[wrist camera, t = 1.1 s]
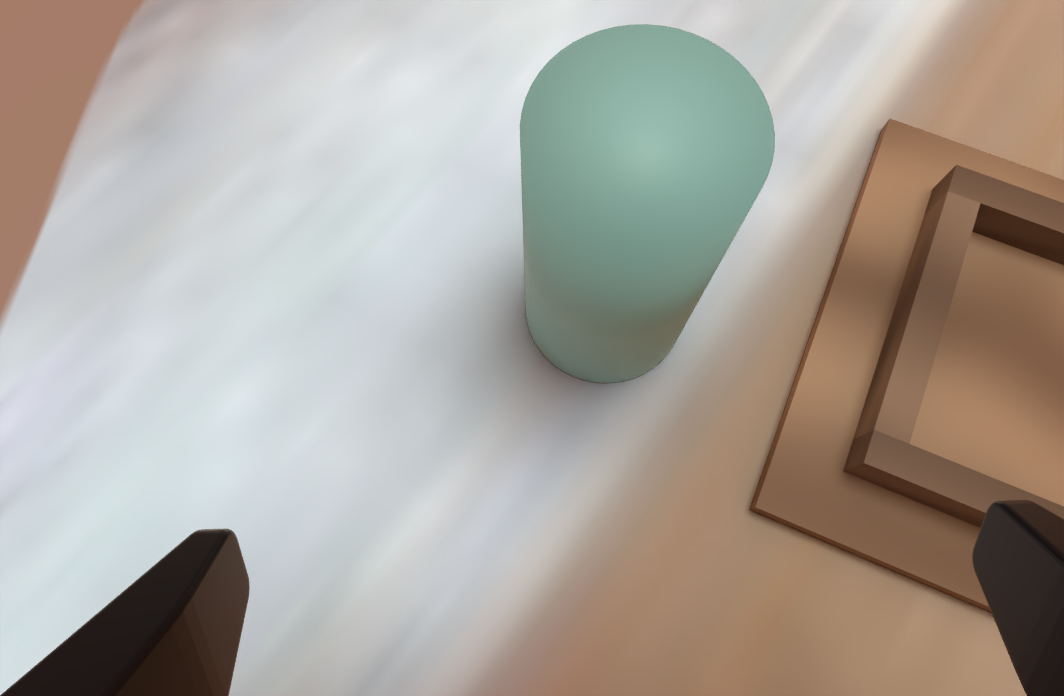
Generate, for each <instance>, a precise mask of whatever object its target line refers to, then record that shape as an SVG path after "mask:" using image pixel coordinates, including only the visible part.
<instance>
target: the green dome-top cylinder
mask: <svg viewBox="0 0 1064 696" xmlns="http://www.w3.org/2000/svg"><path fill="white" fill-rule="evenodd" d="M774 144H775V133H774V126H773V119H772V116H771V112H770V109H769V105H768V103H767V101H766V99H765V96H764V94H763V92H762V90H761V89H760V87H759V86H758V84H757V82H756V81H755V79H754V78H753V77H752V76H751V74H750V73H749V72H748V71H747V69H746V68H745V67H744V66H743V65H742V64H741V63H740V62H739V61H737V60H736V59H735V58H734V57H733V56H732V55H730V54H729V53H728V52H726V51H725V50H724V49H722V48H721V47H719V46H717V45H716V44H714V43H712V42H711V41H709V40H707V39H704V38H702V37H700V36H698V35H695V34H693V33H690V32H687V31H683V30H680V29H676V28H671V27H666V26H659V25H648V24H645V25H626V26H618V27H613V28H609V29H605V30H601V31H598V32H595V33H592V34H590V35H587V36H585V37H583V38H581V39H579V40H577V41H575V42H573V43H572V44H570V45H569V46H567V47H566V48H564V49H563V50H561V51H560V52H559V53H558V54H557V55H555V56H554V57H553V58H552V59H551V60H550V61H549V62H548V63H547V64H546V65H545V66H544V68H543V69H542V70H541V71H540V72H539V74H538V75H537V77H536V79H535V80H534V82H533V83H532V85H531V87H530V89H529V91H528V94H527V96H526V99H525V102H524V105H523V109H522V114H521V121H520V147H521V179H522V212H523V244H524V276H525V308H526V319H527V324H528V328H529V331H530V334H531V336H532V338H533V340H534V342H535V344H536V345H537V347H538V348H539V350H540V351H541V352H542V354H543V355H544V356H545V357H546V358H547V359H548V360H549V361H550V362H551V363H552V364H553V365H555V366H556V367H557V368H559V369H560V370H562V371H563V372H565V373H567V374H569V375H571V376H573V377H576V378H579V379H581V380H585V381H590V382H596V383H616V382H623V381H627V380H630V379H634V378H636V377H638V376H641V375H643V374H645V373H646V372H648V371H650V370H651V369H653V368H654V367H655V366H656V365H658V364H659V363H660V362H661V361H662V360H663V359H664V358H665V357H666V356H667V354H668V353H669V351H670V350H671V349H672V347H673V345H674V344H675V342H676V340H677V338H678V337H679V335H680V333H681V331H682V329H683V328H684V326H685V324H686V322H687V321H688V319H689V317H690V315H691V313H692V312H693V310H694V308H695V306H696V305H697V303H698V301H699V299H700V297H701V296H702V294H703V292H704V290H705V288H706V287H707V285H708V283H709V281H710V280H711V278H712V276H713V274H714V272H715V271H716V269H717V267H718V265H719V264H720V262H721V260H722V258H723V256H724V255H725V253H726V251H727V249H728V248H729V246H730V244H731V242H732V240H733V239H734V237H735V235H736V233H737V232H738V230H739V228H740V226H741V224H742V223H743V221H744V219H745V217H746V216H747V214H748V212H749V210H750V208H751V207H752V205H753V203H754V201H755V200H756V198H757V196H758V194H759V192H760V191H761V189H762V187H763V185H764V183H765V181H766V179H767V177H768V174H769V171H770V168H771V165H772V160H773V154H774Z"/></svg>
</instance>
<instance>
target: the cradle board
mask: <svg viewBox="0 0 1064 696" xmlns="http://www.w3.org/2000/svg"><path fill="white" fill-rule="evenodd" d="M1001 500H1029V501H1033V502H1035V503H1037V504H1039V505H1040V506H1042V507H1044V508H1046V509H1047V510H1049V511H1051V512H1053V513H1054V514H1056V515H1058V516H1060V517H1062V518H1063V519H1064V180H1062V179H1059V178H1056V177H1053V176H1050V175H1048V174H1045V173H1042V172H1039V171H1036V170H1034V169H1031V168H1028V167H1025V166H1022V165H1019V164H1017V163H1014V162H1011V161H1008V160H1005V159H1002V158H1000V157H997V156H994V155H991V154H988V153H986V152H983V151H980V150H977V149H974V148H971V147H969V146H966V145H963V144H960V143H957V142H955V141H952V140H949V139H946V138H943V137H940V136H938V135H935V134H932V133H929V132H926V131H924V130H921V129H918V128H915V127H912V126H909V125H907V124H904V123H901V122H898V121H895V120H892V119H889V120H888V122H887V123H886V124H885V126H884V127H883V128H882V131H881V134H880V136H879V139H878V142H877V145H876V148H875V151H874V154H873V157H872V159H871V162H870V165H869V168H868V171H867V174H866V177H865V180H864V182H863V185H862V188H861V191H860V194H859V197H858V200H857V203H856V205H855V208H854V211H853V214H852V217H851V220H850V223H849V226H848V229H847V231H846V234H845V237H844V240H843V243H842V246H841V249H840V252H839V254H838V257H837V260H836V263H835V266H834V269H833V272H832V275H831V277H830V280H829V283H828V286H827V289H826V292H825V295H824V298H823V300H822V303H821V306H820V309H819V312H818V315H817V318H816V321H815V323H814V326H813V329H812V332H811V335H810V338H809V341H808V344H807V346H806V349H805V352H804V355H803V358H802V361H801V364H800V367H799V369H798V372H797V375H796V378H795V381H794V384H793V387H792V390H791V392H790V395H789V398H788V401H787V404H786V407H785V410H784V413H783V415H782V418H781V421H780V424H779V427H778V430H777V433H776V436H775V438H774V441H773V444H772V447H771V450H770V453H769V456H768V459H767V461H766V464H765V467H764V470H763V473H762V476H761V479H760V482H759V484H758V487H757V490H756V493H755V496H754V499H753V502H752V505H751V507H750V510H753V511H755V512H757V513H760V514H762V515H764V516H767V517H769V518H771V519H774V520H776V521H779V522H781V523H783V524H786V525H788V526H790V527H793V528H795V529H797V530H800V531H802V532H804V533H807V534H809V535H811V536H814V537H816V538H818V539H821V540H823V541H825V542H828V543H830V544H832V545H835V546H837V547H839V548H842V549H844V550H846V551H849V552H851V553H853V554H856V555H858V556H861V557H863V558H865V559H868V560H870V561H872V562H875V563H877V564H879V565H882V566H884V567H886V568H889V569H891V570H893V571H896V572H898V573H900V574H903V575H905V576H907V577H910V578H912V579H914V580H917V581H919V582H921V583H924V584H926V585H928V586H931V587H933V588H935V589H938V590H940V591H943V592H945V593H947V594H950V595H952V596H954V597H957V598H959V599H961V600H964V601H966V602H968V603H971V604H973V605H975V606H978V607H980V608H982V609H985V610H987V611H989V612H991V610H990V608H989V605H988V603H987V600H986V598H985V595H984V593H983V591H982V588H981V586H980V583H979V581H978V578H977V576H976V574H975V571H974V567H973V561H972V554H973V548H974V545H975V542H976V540H977V537H978V534H979V531H980V528H981V526H982V523H983V520H984V517H985V514H986V512H987V509H988V507H989V506H990V505H991V504H992V503H993V502H996V501H1001Z"/></svg>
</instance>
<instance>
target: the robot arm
mask: <svg viewBox="0 0 1064 696" xmlns="http://www.w3.org/2000/svg"><path fill="white" fill-rule="evenodd" d="M972 561H973V567H974V571H975V574H976V576H977V578H978V581H979V583H980V586H981V588H982V591H983V593H984V595H985V598H986V600H987V603H988V605H989V608H990V610H991V612H992V615H993V617H994V620H995V622H996V625H997V627H998V629H999V632H1000V634H1001V637H1002V639H1003V642H1004V644H1005V646H1006V649H1007V651H1008V654H1009V656H1010V658H1011V661H1012V663H1013V666H1014V668H1015V671H1016V673H1017V675H1018V677H1019V680H1020V682H1021V684H1022V686H1023V688H1024V691H1025V693H1026V694H1027V696H1064V519H1063V518H1062V517H1060V516H1058V515H1056V514H1054V513H1053V512H1051V511H1049V510H1047V509H1046V508H1044V507H1042V506H1040V505H1039V504H1037V503H1035V502H1033V501H1029V500H1001V501H996V502H993V503H992V504H991V505H990V506H989V507H988V509H987V512H986V514H985V517H984V520H983V523H982V526H981V528H980V531H979V534H978V537H977V540H976V542H975V545H974V548H973V554H972ZM248 598H249V578H248V574H247V570H246V567H245V564H244V560H243V557H242V553H241V550H240V547H239V543H238V540H237V537H236V535H235V533H234V532H233V531H232V530H229V529H203V530H198V531H196V532H194V533H192V534H191V535H190V536H188V537H187V538H186V539H185V540H184V541H183V542H181V543H180V544H179V545H178V546H177V547H175V548H174V549H173V550H172V551H171V552H170V553H168V554H167V555H166V556H165V557H164V558H162V559H161V560H160V561H159V562H158V563H156V564H155V565H154V566H153V567H152V568H151V569H149V570H148V571H147V572H146V573H145V574H143V575H142V576H141V577H140V578H139V579H138V580H136V581H135V582H134V583H133V584H132V585H130V586H129V587H128V588H127V589H126V590H125V591H123V592H122V593H121V594H120V595H119V596H117V597H116V598H115V599H114V600H113V601H111V602H110V603H109V604H108V605H107V606H106V607H104V608H103V609H102V610H101V611H100V612H98V613H97V614H96V615H95V616H94V617H93V618H91V619H90V620H89V621H88V622H87V623H85V624H84V625H83V626H82V627H81V628H80V629H78V630H77V631H76V632H75V633H74V634H72V635H71V636H70V637H69V638H68V639H67V640H65V641H64V642H63V643H62V644H61V645H59V646H58V647H57V648H56V649H55V650H53V651H52V652H51V653H50V654H49V655H48V656H46V657H45V658H44V659H43V660H42V661H40V662H39V663H38V664H37V665H36V666H35V667H33V668H32V669H31V670H30V671H29V672H27V673H26V674H25V675H24V676H23V677H22V678H20V679H19V680H18V681H17V682H16V683H14V684H13V685H12V686H11V687H10V688H8V689H7V690H6V691H5V692H4V693H3V694H1V695H0V696H229V691H230V686H231V681H232V676H233V671H234V666H235V662H236V657H237V652H238V647H239V642H240V637H241V632H242V627H243V623H244V618H245V613H246V608H247V603H248Z"/></svg>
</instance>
